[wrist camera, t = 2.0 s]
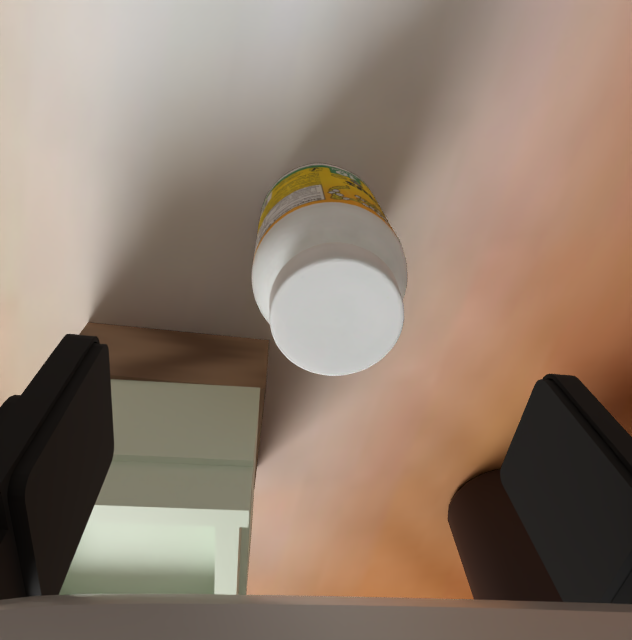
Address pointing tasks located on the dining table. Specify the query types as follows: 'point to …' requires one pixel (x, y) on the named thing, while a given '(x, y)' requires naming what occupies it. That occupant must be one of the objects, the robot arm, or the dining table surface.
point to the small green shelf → (173, 493)
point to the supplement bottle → (328, 271)
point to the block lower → (185, 358)
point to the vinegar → (496, 544)
